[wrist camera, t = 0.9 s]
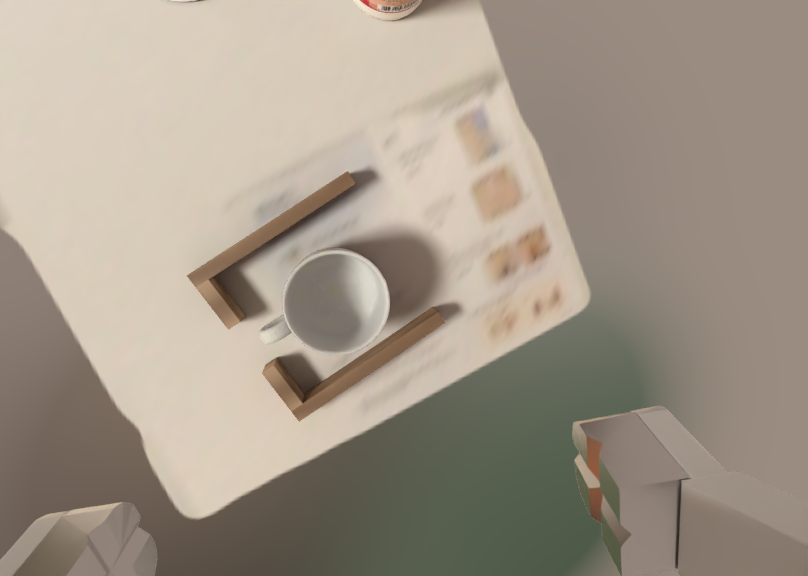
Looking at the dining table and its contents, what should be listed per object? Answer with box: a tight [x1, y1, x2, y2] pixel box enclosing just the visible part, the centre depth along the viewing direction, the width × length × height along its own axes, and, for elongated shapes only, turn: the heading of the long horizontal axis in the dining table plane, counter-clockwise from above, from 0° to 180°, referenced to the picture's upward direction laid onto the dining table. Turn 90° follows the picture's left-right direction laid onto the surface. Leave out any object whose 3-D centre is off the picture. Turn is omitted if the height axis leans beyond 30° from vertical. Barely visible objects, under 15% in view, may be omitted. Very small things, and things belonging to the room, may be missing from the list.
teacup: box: [259, 248, 390, 355], centre depth 49 cm, size 14×11×8 cm
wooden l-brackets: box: [187, 171, 445, 421], centre depth 51 cm, size 20×20×3 cm
